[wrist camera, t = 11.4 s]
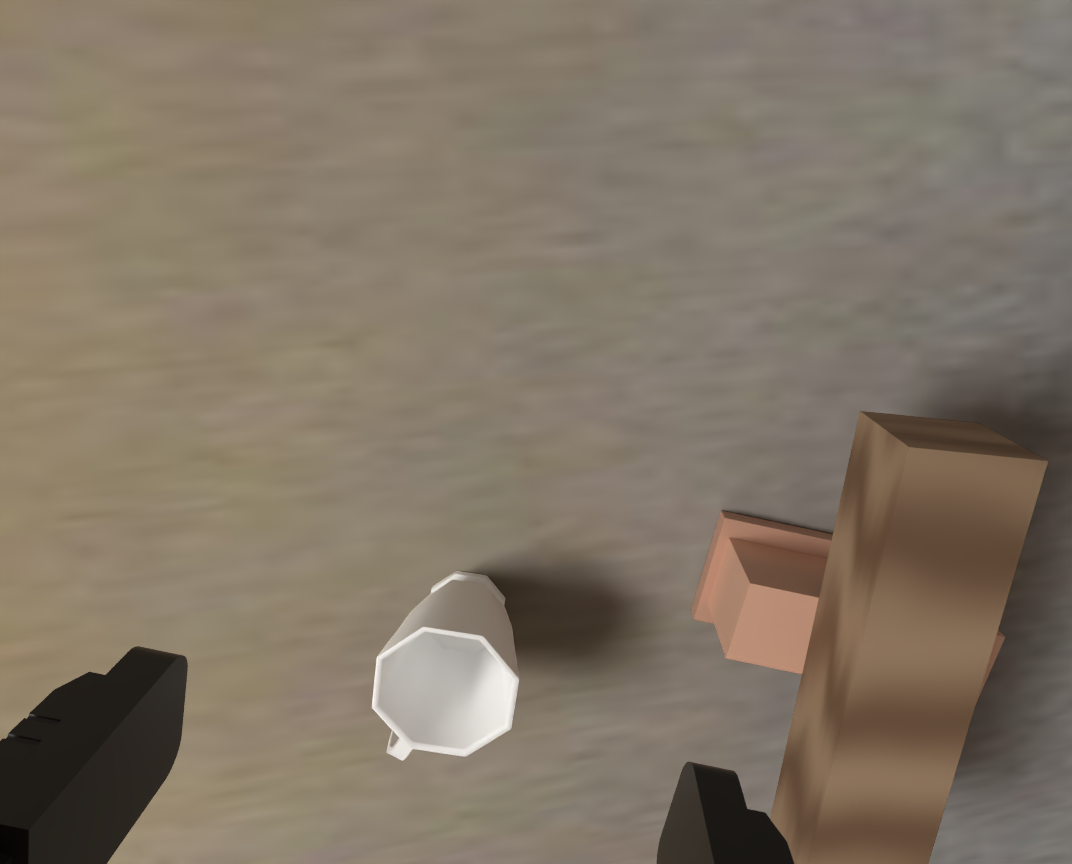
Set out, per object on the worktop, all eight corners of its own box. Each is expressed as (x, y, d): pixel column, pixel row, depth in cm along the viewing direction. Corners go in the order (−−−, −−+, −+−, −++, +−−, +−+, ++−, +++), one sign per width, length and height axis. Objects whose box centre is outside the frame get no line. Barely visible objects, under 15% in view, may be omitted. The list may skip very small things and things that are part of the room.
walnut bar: (860, 410, 33) (909, 447, 28) (978, 422, 33) (1048, 461, 28) (767, 830, 39) (795, 918, 34) (867, 841, 39) (908, 930, 34)
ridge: (721, 510, 41) (745, 561, 35) (961, 561, 41) (1024, 620, 35) (691, 610, 43) (709, 673, 37) (921, 658, 43) (975, 729, 37)
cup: (554, 587, 43) (550, 674, 35) (465, 719, 45) (443, 826, 38) (442, 525, 42) (413, 598, 34) (358, 662, 44) (313, 759, 37)
